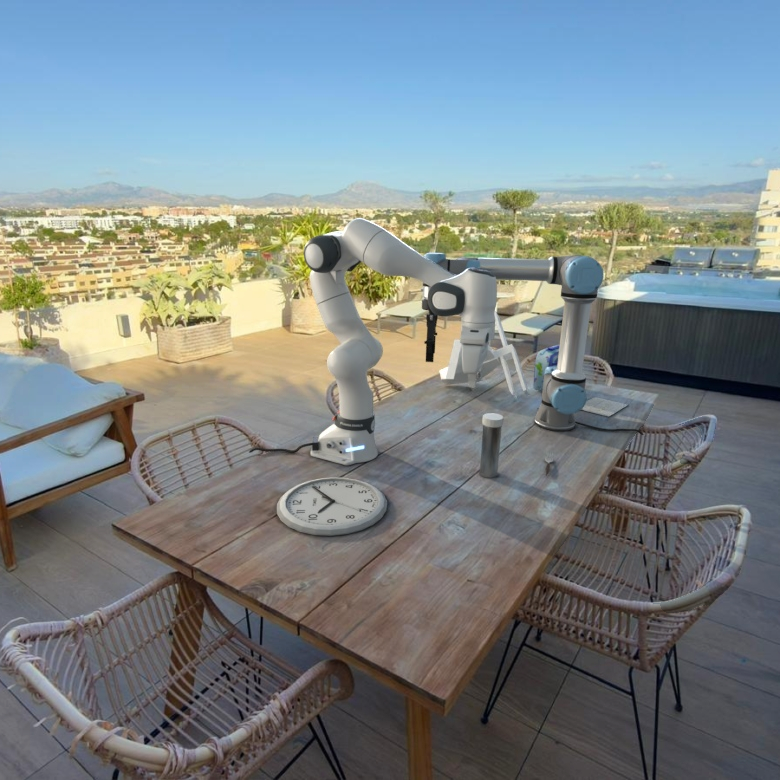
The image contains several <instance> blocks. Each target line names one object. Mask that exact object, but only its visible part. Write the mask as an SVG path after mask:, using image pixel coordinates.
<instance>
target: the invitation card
mask: <svg viewBox="0 0 780 780" xmlns="http://www.w3.org/2000/svg"><path fill="white" fill-rule="evenodd" d="M628 406H629V404H627V403H623V402H618V401H614V400H609V399H605V398H601V397H596V396H593V397H592V398H590V399H587V401H586V404H585V406H584V407H583V408H582V409H581V410H580V411H584V412H587V413H593V414H596V415H600V416H604V417H608V418H609V417H611V416H613V415H614V414H616V413H617V412H619V411H621V410H623V409H624V408H626V407H628Z"/></svg>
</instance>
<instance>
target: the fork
mask: <svg viewBox="0 0 780 780" xmlns="http://www.w3.org/2000/svg"><path fill="white" fill-rule="evenodd" d="M552 452H553V453H552ZM554 455H555V452H554V451H551V452H550V453H548V452H546V453H545V459H544V461H545V462H547V464H546V466H545V475H546V476H548V473H549V471H550V468H551V467H550V464H551V463H553V462H554V458H555V456H554Z"/></svg>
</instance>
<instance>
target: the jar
mask: <svg viewBox="0 0 780 780" xmlns="http://www.w3.org/2000/svg"><path fill="white" fill-rule="evenodd" d="M502 426H503V425H502ZM502 426H501V427H488V426H485V425H483V424H482V438H481V450H480V451H481V453H480V463H479V464H480V465H479V475H480V476H482V477H483V478H487V479H493V478H496V477H498V474H499V473H498V470H499V460H500V448H501V438H502V428H503V427H502Z"/></svg>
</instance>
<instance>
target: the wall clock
mask: <svg viewBox="0 0 780 780" xmlns="http://www.w3.org/2000/svg"><path fill="white" fill-rule="evenodd" d="M387 509H388V500H387V498H386V496H385V494H384V493H383V492H382V491H381V490H380V489H379V488H377V487H376V486H374V485H372V484H371V483H369V482H365V481H362V480H359V479H355V478H349V477H338V476H337V477H335V476H333V477H332V476H331V477H322V478H317V479H312V480H307V481H305V482H302V483H299V484H297V485H295V486H293V487H292V488H290V489H288V490H287V491H286V492H285V493H284V494H283V495H281V496H280V498H279V499H278V502H277V503H276V515H277V517H278V518H279V520H280V521H281V522H282V523H283V524H285V525H286V526H287V527H288V528H290V529H293V530H295V531H297V532H299V533H303V534H308V535H312V536H327V537H328V536H329V537H331V536H332V537H333V536H342V535H350V534H352V533H356V532H361V531H363V530H366V529H368V528H369V527H372V526H373V525H375V524H376V523H378V522H379V521H380V520H381V519H382V518H383V517H384V516H385V514H386V512H387Z"/></svg>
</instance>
